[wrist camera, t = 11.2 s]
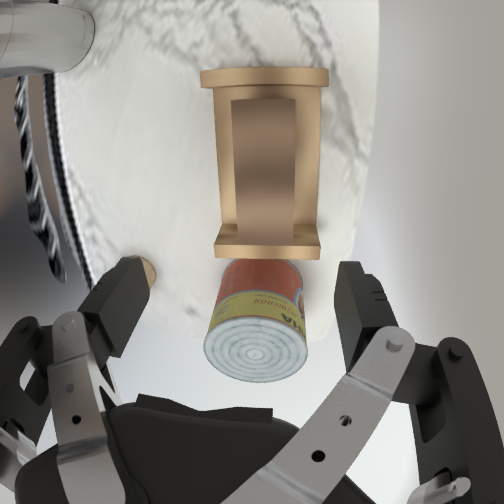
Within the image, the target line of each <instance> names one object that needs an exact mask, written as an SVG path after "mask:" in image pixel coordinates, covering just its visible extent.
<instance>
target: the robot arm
mask: <svg viewBox="0 0 504 504" xmlns="http://www.w3.org/2000/svg"><path fill="white" fill-rule="evenodd" d="M93 37H94V22H93V19H92V17H91V16H90V14H89V13H87V12H86V11H83V10H79V9H75V8H71V7H67V6H62V5H57V4H52V3H46V2H40V1H34V0H0V79H4V78H10V77H16V76H24V75H33V74H44V73H57V72H65V71H68V70H70V69H72V68H73V67H75V66H76V65H77V64H78V63H79V62H80V61H81V60H82V59H83V58H84V57H85V55H86V53H87V52H88V50H89V48H90V46H91V43H92V40H93ZM149 296H150V289H149V284H148V281H147V277H146V273H145V270H144V266H143V262H142V260H141V258H139V257H122V258H121V259H120V261H119V262H118V263H117V265H116V266H115V267H114V268H112V269H110V270H109V271H108V272H106V273H105V274H104V275H103V276H102V277H101V278H100V280H99V281H98V282H97V284H96V285H95V286H94V288H93V291H92V290H91V292H90V293H89V294H88V296H87V297H86V299H85V300H84V302H83V303H82V304H81V306H80V307H79V308H78V310H77V311H71V312H67V313H64V314H62V315H61V316H59V317H58V318H57V319H56V321H55V322H54V324H53V325H49V326H40V324H39V323H38V321H37V319H36V318H35V317H33V316H28V317H25V318H22V319H21V320H19V321H18V322H17V323H16V324H15V325H14V327H13V328H12V330H11V331H10V333H9V334H8V336H7V337H6V339H5V340H4V341H3V343H2V345H1V346H0V483H1V484H2V485H4V486H5V487H7V488H8V489H9V490H11V491H12V492H14V493H15V500H16V504H376V503H375V502H374V501H373V500H371V499H370V497H368V496H367V495H366V494H365V493H364V492H363V491H362V490H361V489H360V488H359V487H358V486H357V485H356V484H355V483H354V482H353V481H352V480H351V479H350V478H349V477H348V476H347V475H346V474H345V473H346V472H347V470H348V469H349V467H350V466H351V465H352V463H353V462H354V460H355V459H356V458H357V456H358V455H359V453H360V452H361V450H362V449H363V447H364V446H365V444H366V443H367V441H368V439H369V438H370V436H371V435H372V433H373V431H374V430H375V428H376V427H377V425H378V423H379V421H380V420H381V418H382V416H383V414H384V413H385V411H386V409H387V407H388V405H389V404H390V402H391V401H395V402H400V403H407V404H409V409H410V415H411V420H412V427H413V433H414V439H415V446H416V454H417V462H418V470H419V481H420V486H419V487H418V488H416V489H415V490H414V491H413V492H412V494H411V495H410V497H409V499H408V502H407V504H504V447H503V443H502V439H501V435H500V431H499V427H498V424H497V420H496V417H495V413H494V410H493V407H492V404H491V401H490V398H489V395H488V392H487V389H486V387H485V384H484V381H483V379H482V376H481V373H480V371H479V368H478V366H477V363H476V361H475V358H474V356H473V354H472V352H471V349H470V348H469V346H468V345H467V344H466V343H465V342H463V341H462V340H460V339H458V338H454V337H448V338H445V339H443V340H442V341H440V343H439V345H438V346H437V347H432V346H427V345H421V344H417V343H415V341H414V339H413V337H412V336H411V334H410V333H408V332H407V331H406V330H404V329H402V328H400V327H399V326H398V324H397V321H396V319H395V316H394V313H393V311H392V309H391V306H390V304H389V301H387V297H386V294H385V293H384V290H383V287H382V285H381V283H380V281H379V280H377V279H376V278H375V277H374V276H373V275H372V274H365V273H364V271H363V268H362V266H361V263H360V262H359V261H341V262H340V264H339V268H338V275H337V281H336V287H335V292H334V308H335V313H336V318H337V323H338V328H339V333H340V338H341V344H342V349H343V355H344V360H345V366H346V372H347V373H349V374H347V373H346V374H345V375H344V376H343V377H342V378H341V379H340V381H339V382H338V383H337V385H336V386H335V387H334V389H333V390H332V391H331V393H330V394H329V395H328V396H327V398H326V399H325V400H324V402H323V403H322V404H321V405H320V407H319V408H318V409H317V410H316V412H315V413H314V414H313V415H312V416H311V417H310V419H309V420H308V421H307V422H306V423H305V424H304V426H303V427H302V428H301V429H299V428H298V427H296V426H295V425H293V424H291V423H289V422H286V421H284V420H281V419H277V418H274V417H272V416H273V409H272V408H250V407H233V408H225V409H218V410H209V411H198V410H195V409H193V408H190V407H187V406H185V405H182V404H180V403H177V402H175V401H172V400H170V399H165V398H160V397H154V396H149V395H144V394H138V397H137V400H136V402H132V403H126V404H122V401H121V399H120V397H119V394H118V391H117V388H116V385H115V382H114V379H113V376H112V372H111V369H110V366H109V363H108V362H107V360H108V358H109V356H112V357H117V358H120V357H121V355H122V353H123V351H124V349H125V347H126V345H127V342H128V341H129V338H130V336H131V334H132V332H133V330H134V328H135V326H136V324H137V322H138V320H139V318H140V316H141V314H142V312H143V310H144V308H145V307H146V305H147V303H148V300H149ZM28 361H29V362H30V363H31V364H32V365H33V367H34V368H35V371H34V373H33V375H32V376H31V378H30V380H29V382H28V384H27V386H26V388H25V391H23V389H22V388H21V386H20V376H21V374H22V372H23V371H24V369H25V367H26V365H27V363H28ZM51 409H52V414H53V421H54V426H55V432H56V437H57V441H58V443H57V444H56V445H54V446H52V447H51V448H49V449H48V450H46V451H45V452H43V453H41V454H40V455H37V454H36V446H37V443H38V441H39V438H40V435H41V433H42V430H43V427H44V425H45V422H46V420H47V417H48V415H49V412H50V410H51Z"/></svg>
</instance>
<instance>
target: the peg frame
mask: <svg viewBox="0 0 504 504" xmlns="http://www.w3.org/2000/svg"><path fill="white" fill-rule="evenodd" d="M200 78H201V88H212V89H213V97H214V115H215V132H216V148H217V162H218V176H219V190H220V203H221V215H222V226H221V228H220V231H219V233H218V236H217V238H216V241H215V243H214V250H215V258H248V259H303V260H319V258H320V249H321V246H320V241H319V237H318V233H317V229H316V212H317V196H318V178H319V153H320V87H326V86H329V77H328V69H323V68H307V67H244V68H228V69H215V70H205V71H200ZM237 99H295V193H294V224H293V246H272V245H238V231H237V214H236V196H235V178H234V159H233V138H232V117H231V100H237Z"/></svg>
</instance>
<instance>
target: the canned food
mask: <svg viewBox="0 0 504 504" xmlns="http://www.w3.org/2000/svg"><path fill="white" fill-rule="evenodd" d="M203 347H204V352H205V356H206V358H207V359H208V361H209V362H210V363H211V364H212V365H213V366H214V367H215V368H216V369H217V370H218V371H220V372H222V373H223V374H225V375H227V376H229V377H232V378H234V379H238V380H241V381H246V382H255V383H265V382H273V381H278V380H281V379H285V378H287V377H289V376H291V375H293V374H294V373H296V372H297V371H298V370H299V369H301V368H302V366H303V365H304V364H305V362H306V359H307V355H308V348H307V344H306V329H305V315H304V303H303V283H302V278H301V276H300V273H299V272H298V270H297V269H296V268H295V266H294V265H293V264H291V263H290V262H289V261H288V260H286V259H248V258H237V259H236V260H234V261H233V262H232V263H230V264H229V265H228V267H227V268H226V269H225V271H224V273H223V276H222V280H221V286H220V289H219V293H218V296H217V300H216V304H215V307H214V311H213V314H212V318H211V322H210V325H209V329H208V333H207V335H206V337H205V340H204V345H203Z"/></svg>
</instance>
